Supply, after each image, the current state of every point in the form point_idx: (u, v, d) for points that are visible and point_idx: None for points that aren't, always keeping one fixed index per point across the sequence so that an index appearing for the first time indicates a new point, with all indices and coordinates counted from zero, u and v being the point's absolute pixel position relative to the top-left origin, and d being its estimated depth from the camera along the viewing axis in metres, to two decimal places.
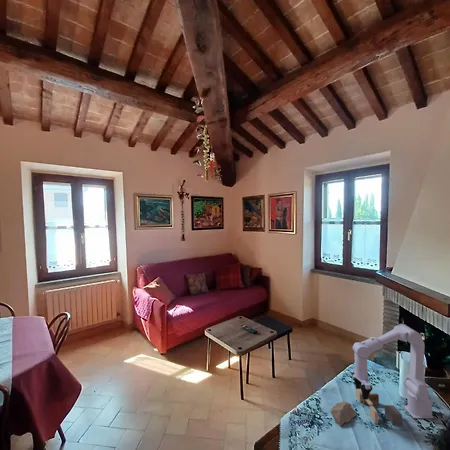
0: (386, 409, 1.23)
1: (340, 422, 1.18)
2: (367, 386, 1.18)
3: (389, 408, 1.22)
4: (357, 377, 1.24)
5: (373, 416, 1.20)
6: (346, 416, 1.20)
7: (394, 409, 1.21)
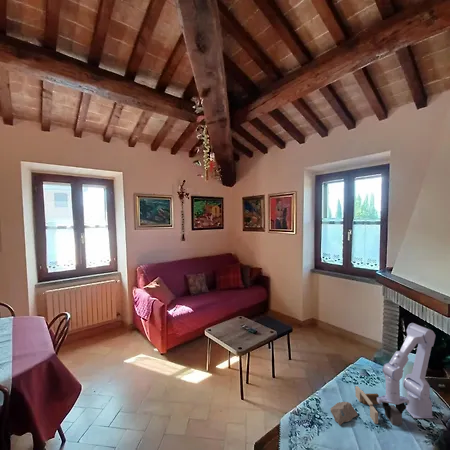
0: None
1: (340, 421, 1.19)
2: (377, 399, 1.21)
3: None
4: None
5: (373, 416, 1.20)
6: (346, 416, 1.20)
7: (394, 409, 1.21)
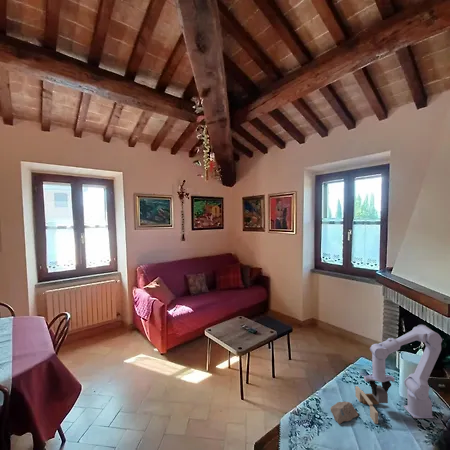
0: None
1: (339, 420, 1.19)
2: (364, 377, 1.28)
3: None
4: None
5: (373, 416, 1.20)
6: (346, 416, 1.20)
7: (381, 388, 1.27)
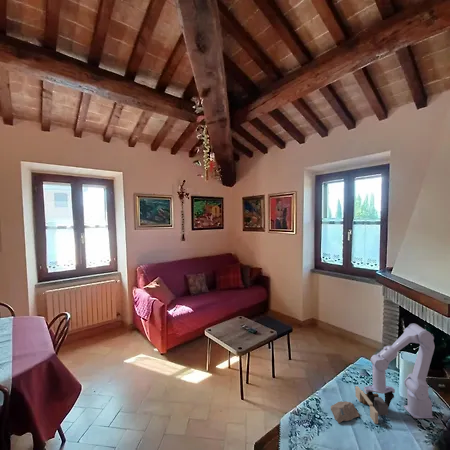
0: None
1: (339, 419, 1.20)
2: (364, 388, 1.28)
3: (376, 399, 1.28)
4: None
5: (373, 416, 1.20)
6: (346, 415, 1.21)
7: (381, 400, 1.27)
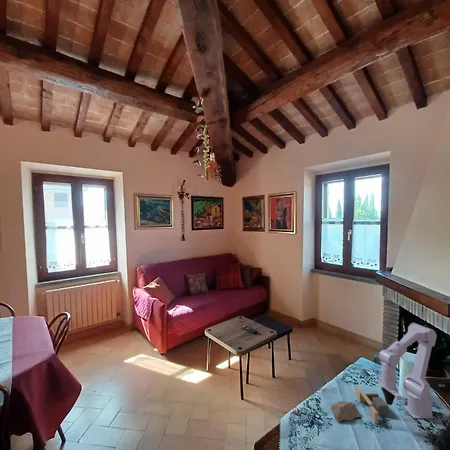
0: (373, 400, 1.28)
1: (338, 418, 1.21)
2: (398, 397, 1.12)
3: (376, 399, 1.28)
4: (385, 387, 1.17)
5: (373, 416, 1.20)
6: (346, 414, 1.21)
7: (381, 400, 1.27)
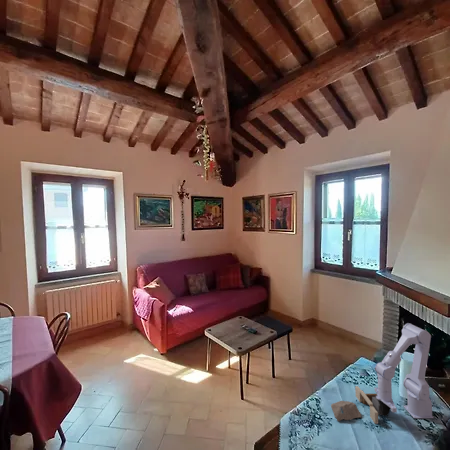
0: (373, 400, 1.29)
1: (338, 417, 1.21)
2: (393, 409, 1.15)
3: (376, 399, 1.28)
4: (381, 399, 1.21)
5: (373, 416, 1.20)
6: (346, 414, 1.21)
7: None
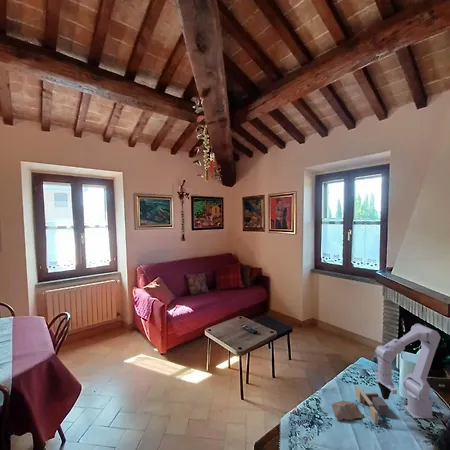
0: (373, 400, 1.29)
1: (338, 417, 1.22)
2: (393, 391, 1.15)
3: (376, 399, 1.28)
4: (381, 382, 1.20)
5: (373, 416, 1.20)
6: (346, 414, 1.21)
7: (381, 400, 1.27)
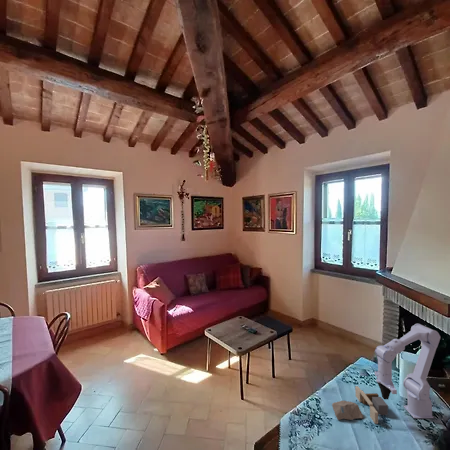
0: (373, 400, 1.29)
1: (338, 416, 1.22)
2: (393, 391, 1.15)
3: (376, 399, 1.28)
4: (381, 382, 1.20)
5: (373, 416, 1.20)
6: (346, 414, 1.22)
7: (381, 400, 1.27)
